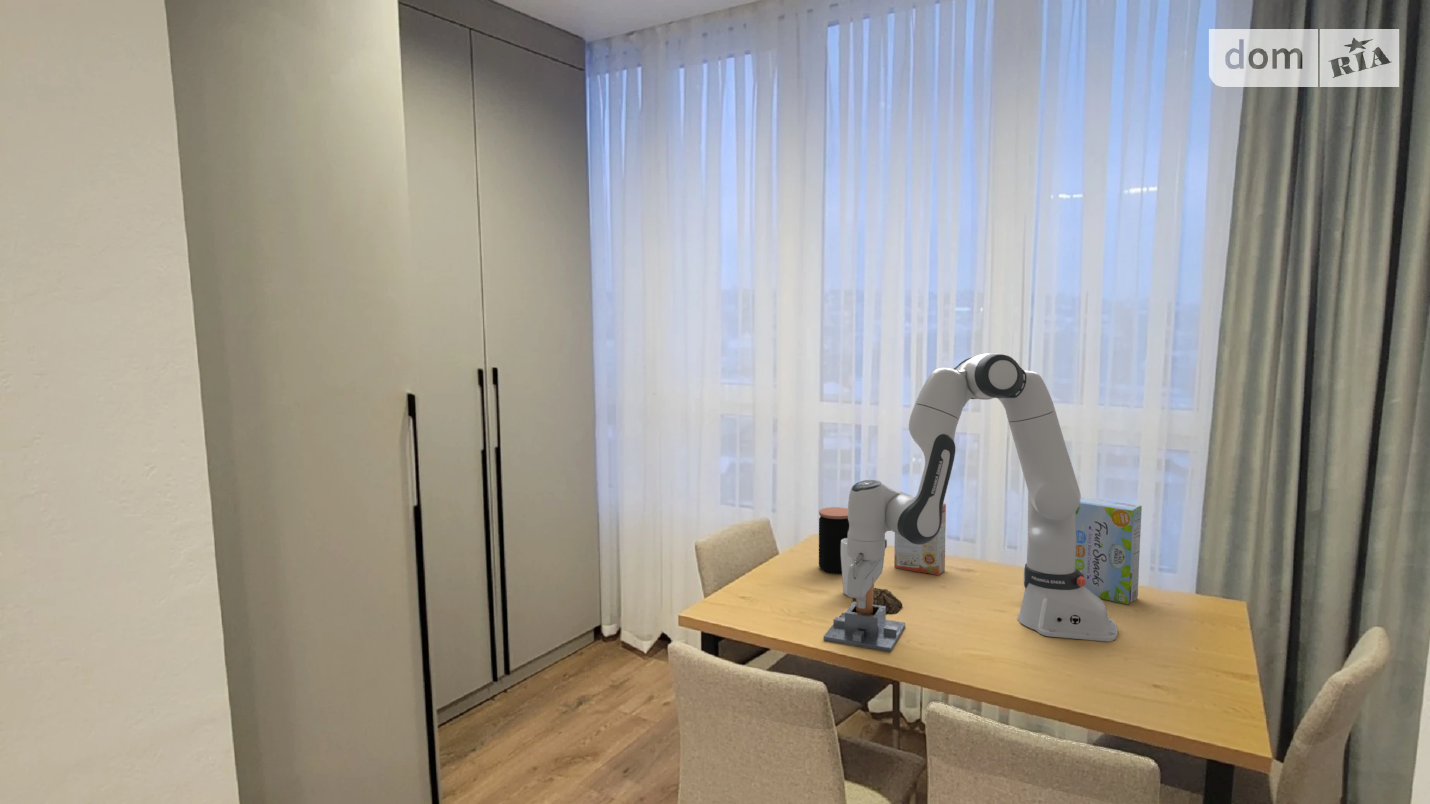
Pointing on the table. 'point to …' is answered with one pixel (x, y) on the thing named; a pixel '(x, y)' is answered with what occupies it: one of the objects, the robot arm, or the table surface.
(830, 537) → the coffee jar
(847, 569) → the drinking glass
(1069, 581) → the robot arm
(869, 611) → the rounded pin
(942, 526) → the cracker box
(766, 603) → the table surface
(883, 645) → the hollow box on baseplate
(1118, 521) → the snack box
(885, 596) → the bread roll
